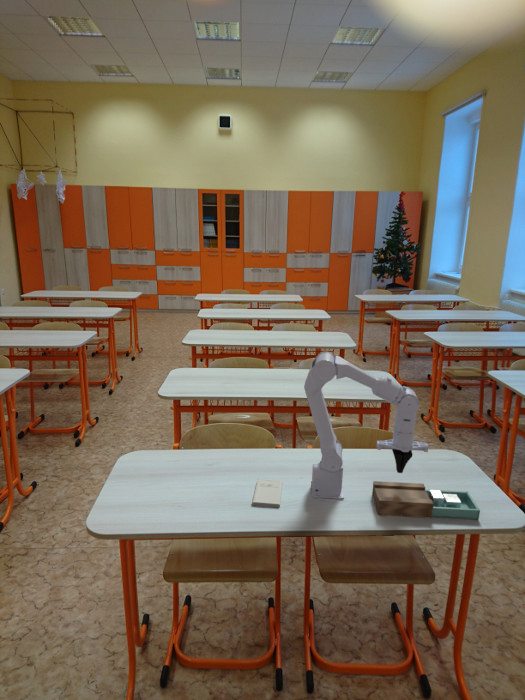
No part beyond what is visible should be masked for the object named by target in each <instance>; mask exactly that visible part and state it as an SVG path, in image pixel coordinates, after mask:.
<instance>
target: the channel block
mask: <svg viewBox="0 0 525 700" xmlns="http://www.w3.org/2000/svg"><path fill="white" fill-rule="evenodd" d="M372 484H373V485H372V492H371V493H372V498H373V501H374V506H375V508H376V513H377V515H378V516H391V517H394V516H395V517H407V516H408V517H407V518H410V517H411V518H425V517H427V518H428V517H430V518H428V519H431V518H433V517H432V510H433V502H432V500H431V499H430V498H429V496H428V494H427V492H426V490H427V489H426V485H425V484H424V483H421V482H419V483H418V482H417V483H414V482H399V481H397V482H395V481H378V480H373V481H372ZM425 489H426V490H425Z"/></svg>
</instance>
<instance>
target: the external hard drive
mask: <svg viewBox="0 0 525 700" xmlns="http://www.w3.org/2000/svg"><path fill="white" fill-rule="evenodd" d="M283 483H284V481H281V480H273V479H271V480H270V479H257V482H256V484H255V490H254V494H253V499H252V506H262V507H271V508H281V502H282V501H281V500H282V493H283V485H284V484H283Z"/></svg>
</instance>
